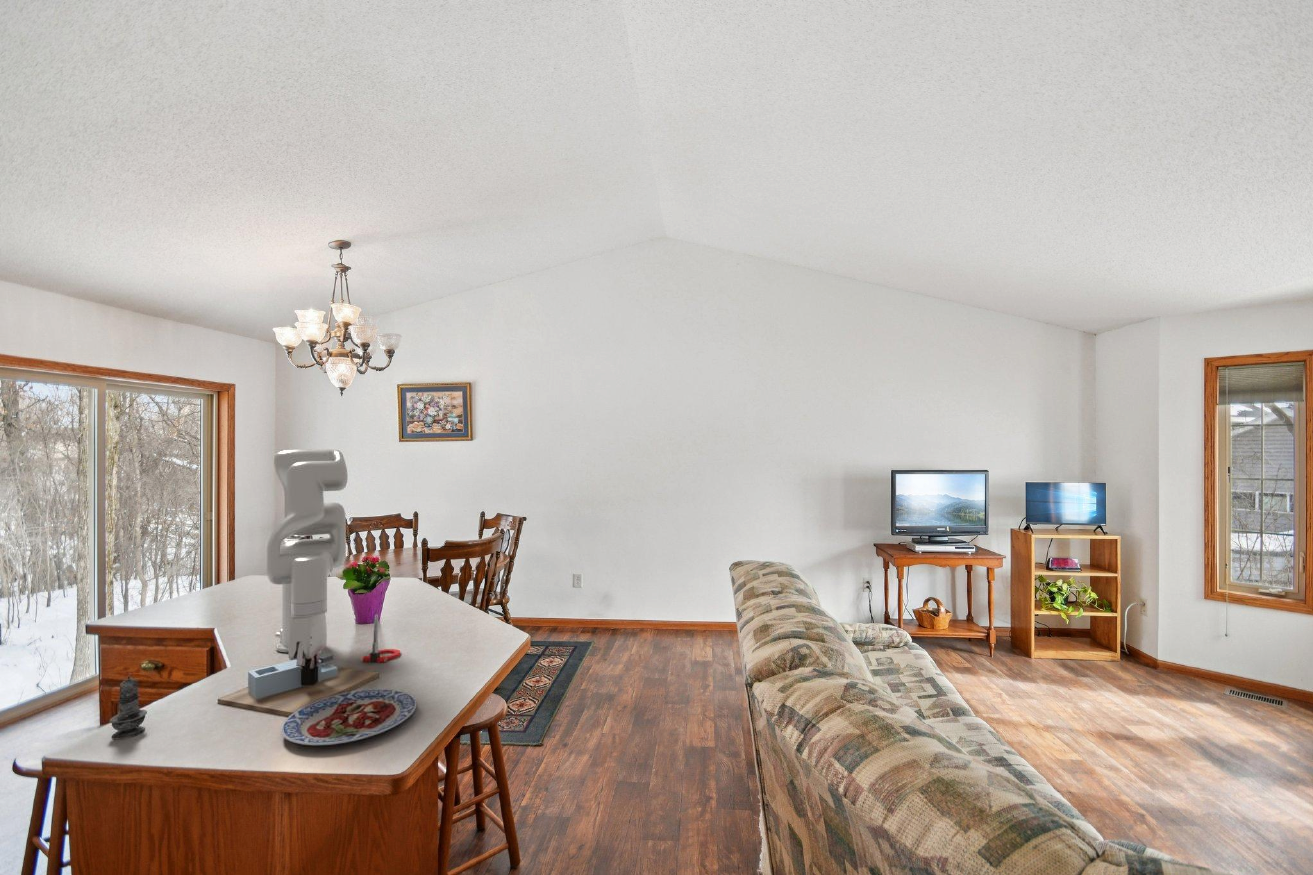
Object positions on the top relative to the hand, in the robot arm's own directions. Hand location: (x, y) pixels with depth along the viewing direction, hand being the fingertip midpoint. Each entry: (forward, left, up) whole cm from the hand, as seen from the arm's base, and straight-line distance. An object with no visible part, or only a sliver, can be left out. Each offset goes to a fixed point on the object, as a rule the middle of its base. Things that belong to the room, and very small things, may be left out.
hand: (309, 683), depth 143 cm
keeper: (-9, +9, -1) cm, 13 cm away
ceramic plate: (+23, -9, -3) cm, 25 cm away
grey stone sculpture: (-18, -27, -2) cm, 33 cm away
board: (-3, +1, -2) cm, 4 cm away
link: (-6, +1, -1) cm, 6 cm away
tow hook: (-1, +25, -2) cm, 25 cm away
